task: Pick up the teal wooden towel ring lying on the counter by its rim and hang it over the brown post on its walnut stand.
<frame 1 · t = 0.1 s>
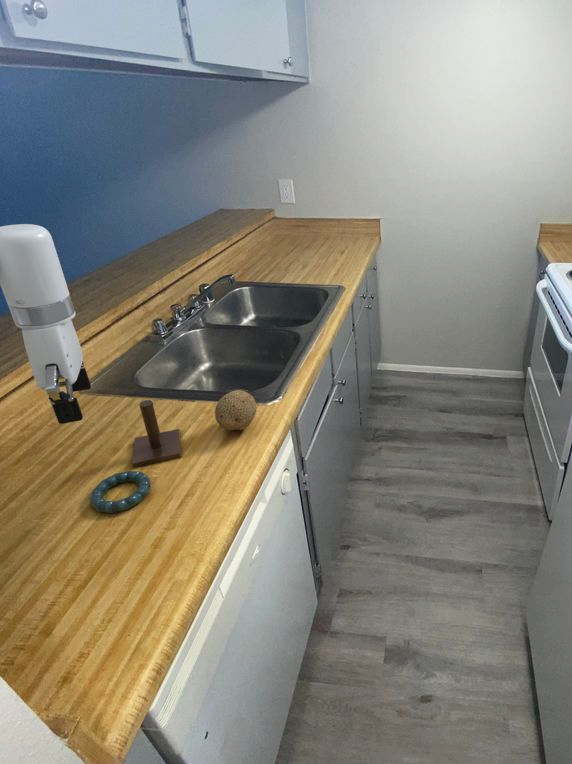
hand: (76, 404, 78), 22 cm above the worktop, tool pointing down, fingers open, 9 cm apart
ring: (121, 490, 90), point 1 cm above the worktop
post: (157, 449, 103), on the worktop
natural sponge: (238, 430, 110), on the worktop
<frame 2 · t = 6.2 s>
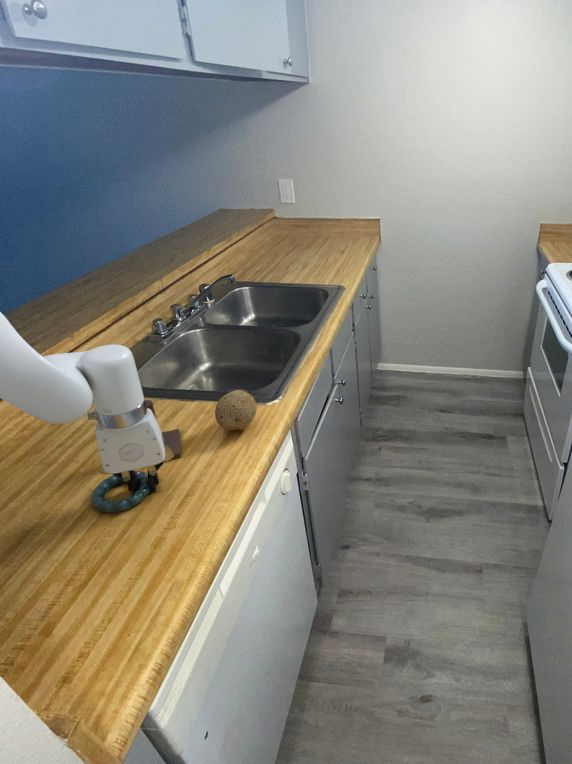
hand: (145, 488, 92), 0 cm above the worktop, tool pointing down, fingers closed on ring, 2 cm apart
ring: (122, 490, 90), point 1 cm above the worktop, touching gripper
everything else where it was.
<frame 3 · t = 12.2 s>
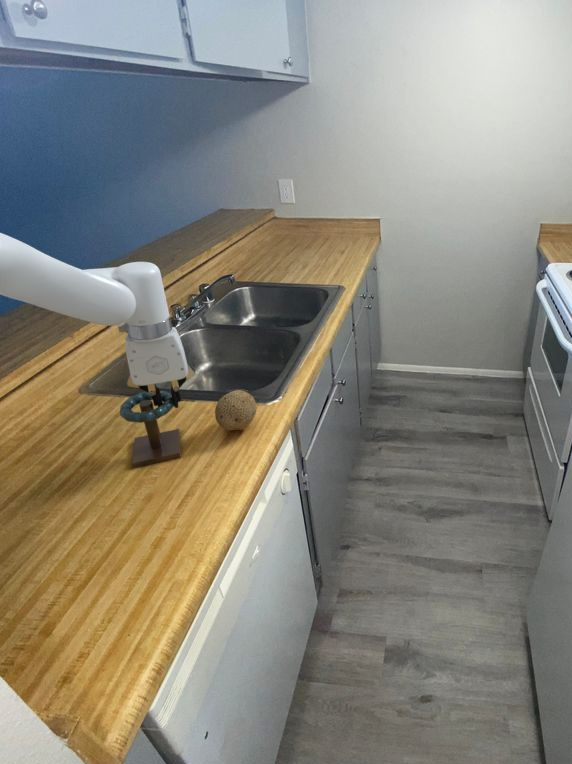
hand: (168, 405, 99), 11 cm above the worktop, tool pointing down, fingers closed on ring
ring: (147, 405, 98), point 11 cm above the worktop, touching gripper
everything else where it was.
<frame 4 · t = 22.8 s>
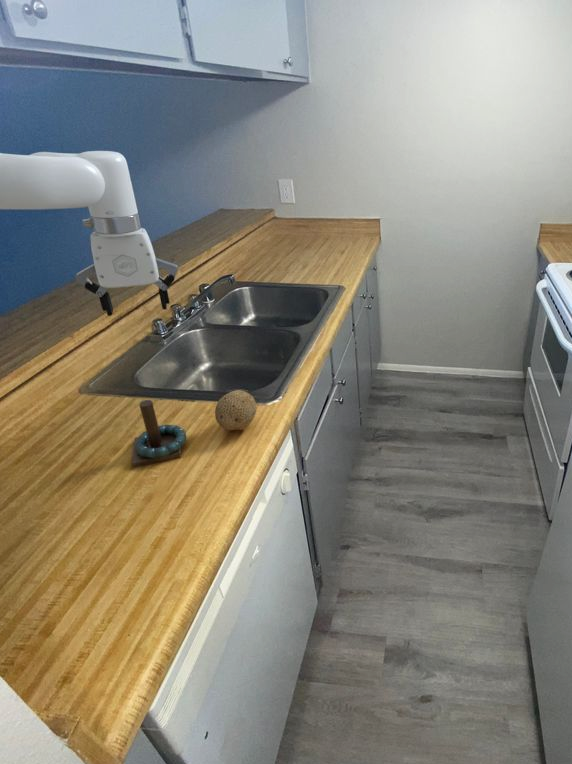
hand: (138, 310, 94), 30 cm above the worktop, tool pointing down, fingers open, 9 cm apart
ring: (160, 440, 102), point 2 cm above the worktop, touching post
everything else where it was.
at the end: ring 1.0 cm off-centre on the post, point 2.2 cm above the post's base; the gripper is holding nothing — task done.
